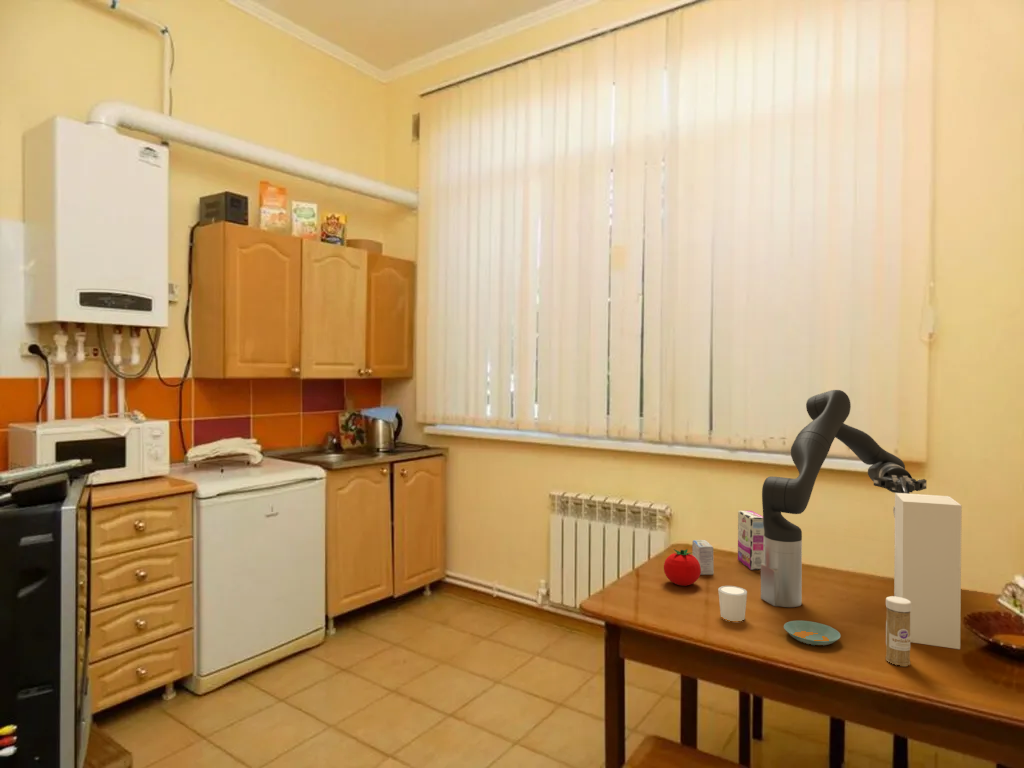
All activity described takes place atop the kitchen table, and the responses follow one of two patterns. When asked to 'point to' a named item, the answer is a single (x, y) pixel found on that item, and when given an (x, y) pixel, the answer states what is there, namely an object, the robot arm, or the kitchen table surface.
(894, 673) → the kitchen table surface
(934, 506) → the stand
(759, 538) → the candy bar box
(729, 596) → the white cup
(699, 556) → the medicine box
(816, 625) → the saucer
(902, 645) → the sprinkles bottle
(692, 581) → the tomato
